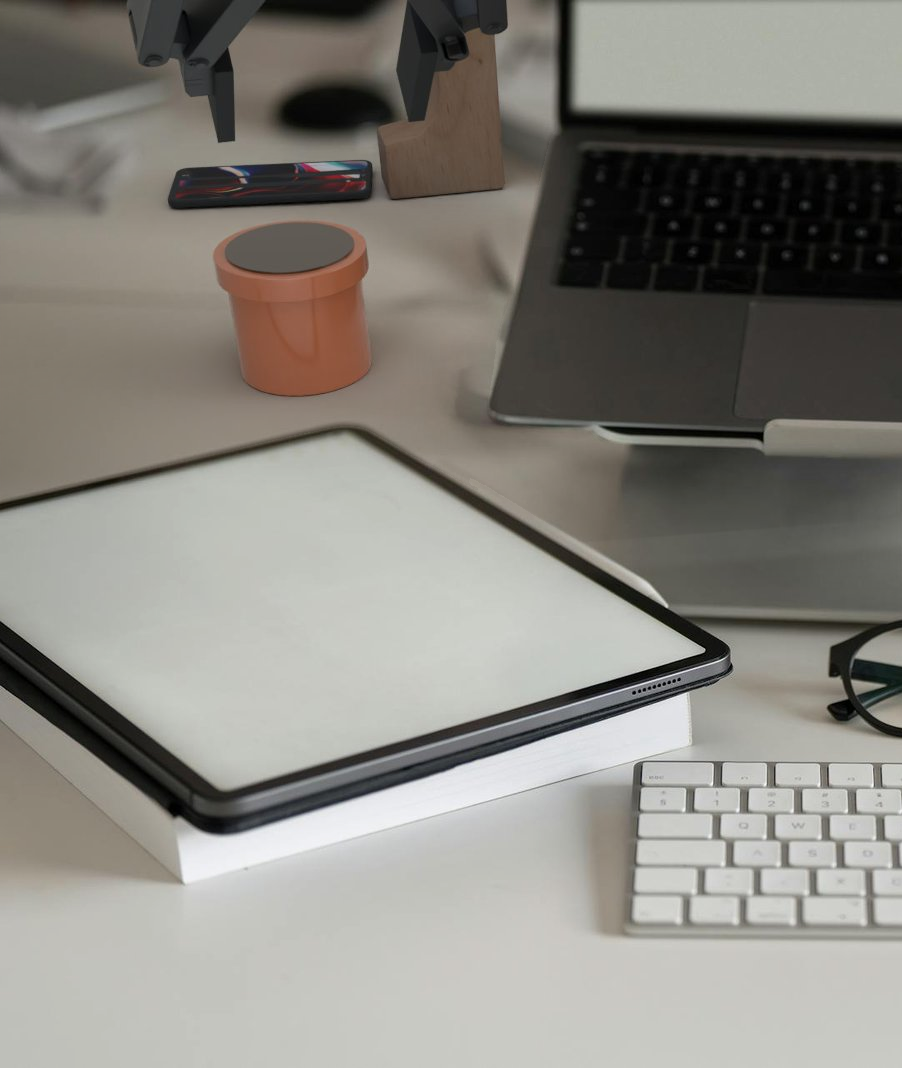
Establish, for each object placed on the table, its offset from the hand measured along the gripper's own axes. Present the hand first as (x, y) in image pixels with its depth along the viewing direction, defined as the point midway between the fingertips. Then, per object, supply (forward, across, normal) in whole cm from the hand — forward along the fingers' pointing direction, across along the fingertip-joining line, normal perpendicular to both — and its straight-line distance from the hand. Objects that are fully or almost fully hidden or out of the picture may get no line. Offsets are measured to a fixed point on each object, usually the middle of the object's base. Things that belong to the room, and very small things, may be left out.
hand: (317, 104), depth 79 cm
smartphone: (+53, +3, +20) cm, 57 cm away
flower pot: (+31, 0, -2) cm, 31 cm away
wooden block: (+51, +15, +17) cm, 56 cm away
